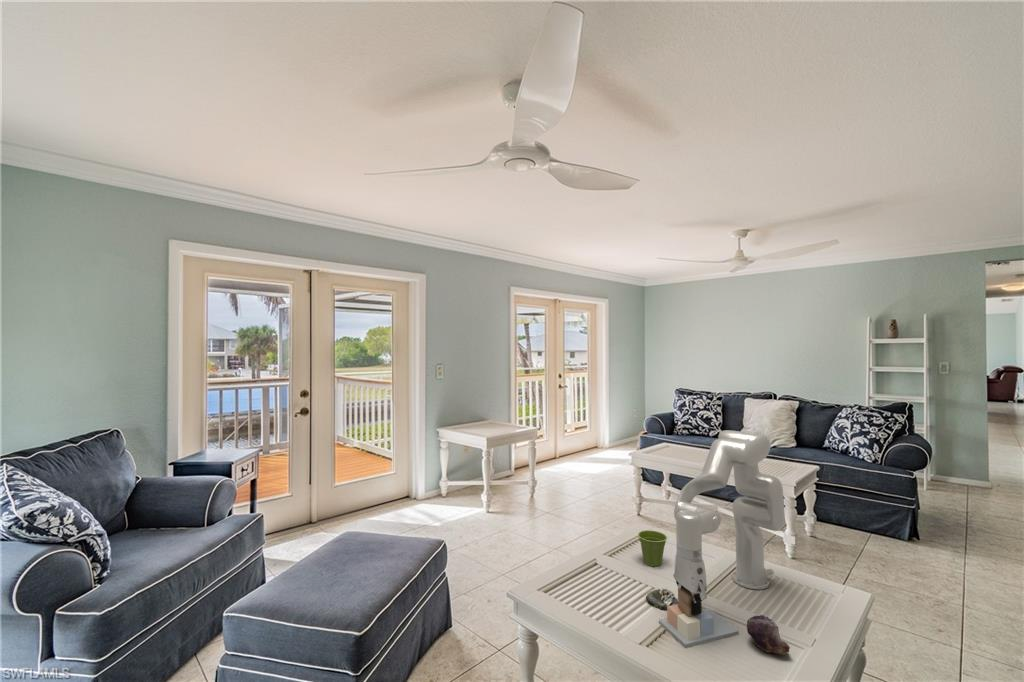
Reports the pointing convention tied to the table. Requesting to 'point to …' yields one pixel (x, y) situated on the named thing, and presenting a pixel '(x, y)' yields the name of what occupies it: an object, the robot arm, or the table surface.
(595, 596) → the table surface
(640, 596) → the table surface
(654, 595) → the grey oval shell
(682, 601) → the walnut block
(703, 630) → the blue block
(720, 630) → the assembly board
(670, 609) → the terracotta block
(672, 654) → the table surface
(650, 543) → the plant pot
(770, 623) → the rock
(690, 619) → the cream block
